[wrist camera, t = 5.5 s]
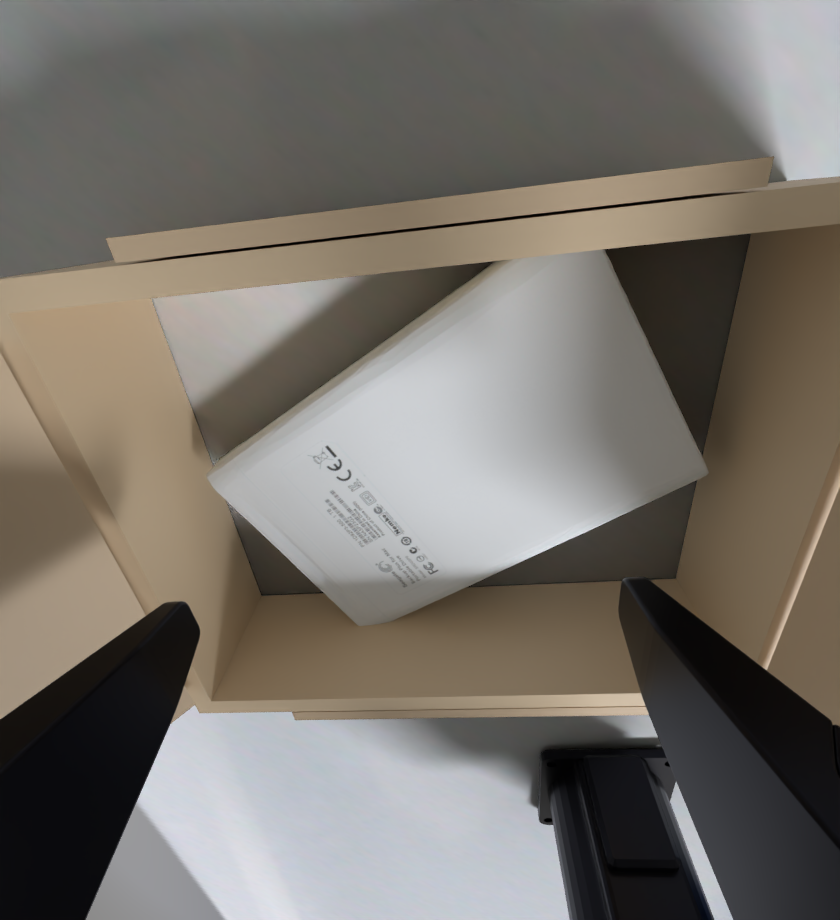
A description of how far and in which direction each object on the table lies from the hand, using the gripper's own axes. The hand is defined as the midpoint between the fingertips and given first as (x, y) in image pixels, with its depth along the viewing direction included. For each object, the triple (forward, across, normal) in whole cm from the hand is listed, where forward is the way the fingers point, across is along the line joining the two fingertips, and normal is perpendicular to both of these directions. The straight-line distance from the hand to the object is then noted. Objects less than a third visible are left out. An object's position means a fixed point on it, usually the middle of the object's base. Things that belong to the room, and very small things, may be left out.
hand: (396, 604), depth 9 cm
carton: (+6, -1, 0) cm, 6 cm away
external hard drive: (+6, -1, 0) cm, 6 cm away
